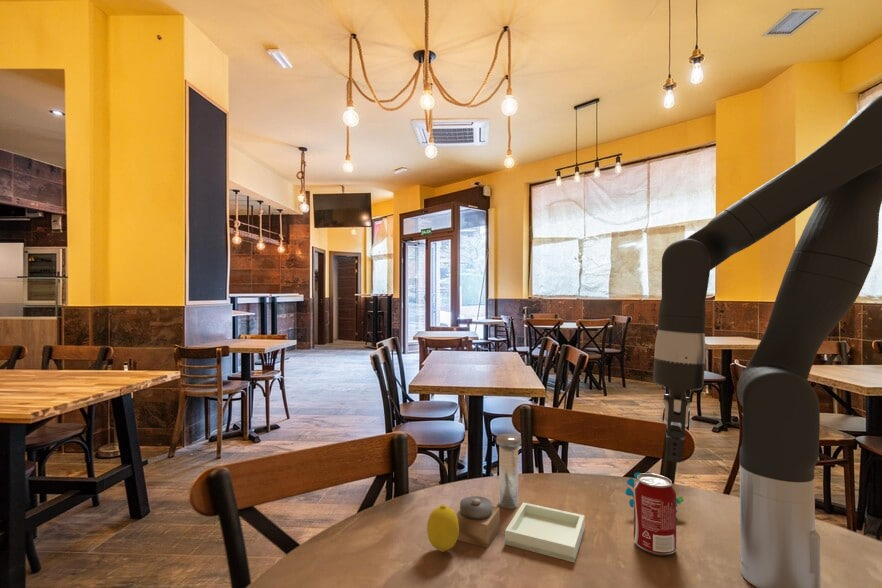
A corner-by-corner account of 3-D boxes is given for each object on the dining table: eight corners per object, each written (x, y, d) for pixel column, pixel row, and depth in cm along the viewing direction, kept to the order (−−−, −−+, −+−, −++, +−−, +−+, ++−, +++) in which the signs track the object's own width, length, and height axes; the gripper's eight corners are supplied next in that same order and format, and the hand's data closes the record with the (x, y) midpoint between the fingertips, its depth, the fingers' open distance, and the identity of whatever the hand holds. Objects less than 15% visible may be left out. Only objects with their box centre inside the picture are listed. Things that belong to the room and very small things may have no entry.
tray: (584, 528, 82) (584, 515, 82) (574, 562, 72) (574, 547, 72) (523, 514, 88) (523, 502, 88) (505, 544, 77) (505, 530, 77)
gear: (628, 514, 85) (625, 465, 92) (620, 524, 89) (618, 477, 96) (689, 527, 83) (681, 476, 90) (678, 537, 87) (671, 488, 94)
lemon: (437, 539, 78) (437, 495, 78) (464, 548, 75) (464, 502, 76) (420, 554, 74) (421, 507, 74) (448, 565, 71) (449, 516, 71)
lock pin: (523, 501, 93) (523, 436, 93) (517, 512, 89) (517, 443, 89) (500, 496, 96) (500, 432, 96) (493, 506, 91) (493, 439, 91)
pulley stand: (499, 529, 82) (499, 496, 82) (487, 547, 76) (487, 512, 76) (465, 520, 85) (466, 489, 85) (451, 538, 79) (451, 504, 79)
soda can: (681, 561, 72) (681, 489, 72) (638, 556, 74) (638, 485, 74) (669, 539, 79) (668, 473, 79) (629, 535, 80) (629, 470, 80)
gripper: (708, 366, 65) (701, 473, 65) (701, 356, 78) (696, 446, 78) (653, 359, 69) (647, 461, 69) (655, 351, 81) (650, 437, 81)
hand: (673, 453), depth 73 cm, fingers open, 8 cm apart
